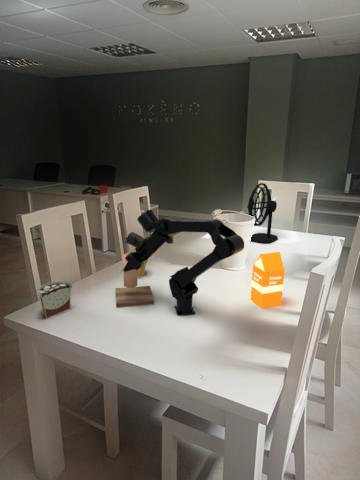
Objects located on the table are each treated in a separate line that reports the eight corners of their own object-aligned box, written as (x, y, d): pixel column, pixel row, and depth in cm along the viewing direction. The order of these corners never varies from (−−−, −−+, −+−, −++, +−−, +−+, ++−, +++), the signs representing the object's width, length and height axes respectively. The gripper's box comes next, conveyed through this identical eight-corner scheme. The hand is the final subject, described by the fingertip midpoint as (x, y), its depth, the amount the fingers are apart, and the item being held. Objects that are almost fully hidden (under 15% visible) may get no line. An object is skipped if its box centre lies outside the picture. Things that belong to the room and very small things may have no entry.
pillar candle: (138, 286, 131) (137, 256, 127) (124, 288, 130) (122, 257, 126) (136, 281, 136) (135, 252, 132) (123, 282, 134) (122, 253, 131)
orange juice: (250, 300, 134) (253, 251, 129) (269, 296, 137) (273, 248, 132) (261, 309, 127) (265, 257, 122) (281, 305, 130) (286, 255, 125)
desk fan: (257, 232, 235) (261, 180, 225) (282, 236, 225) (288, 182, 215) (239, 241, 214) (242, 184, 204) (265, 246, 204) (271, 186, 194)
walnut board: (154, 304, 130) (154, 300, 129) (116, 307, 127) (116, 303, 126) (149, 289, 143) (149, 285, 142) (115, 291, 140) (115, 288, 140)
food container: (64, 302, 130) (62, 278, 127) (73, 307, 126) (71, 282, 123) (33, 314, 121) (30, 288, 118) (42, 320, 117) (39, 293, 114)
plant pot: (142, 280, 152) (141, 259, 149) (121, 277, 155) (120, 256, 152) (151, 272, 161) (151, 252, 158) (131, 269, 164) (131, 249, 162)
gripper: (146, 220, 134) (120, 246, 140) (129, 232, 117) (101, 260, 122) (166, 241, 135) (140, 266, 140) (152, 256, 117) (123, 283, 122)
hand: (126, 268), depth 131 cm, fingers closed on pillar candle, 5 cm apart
